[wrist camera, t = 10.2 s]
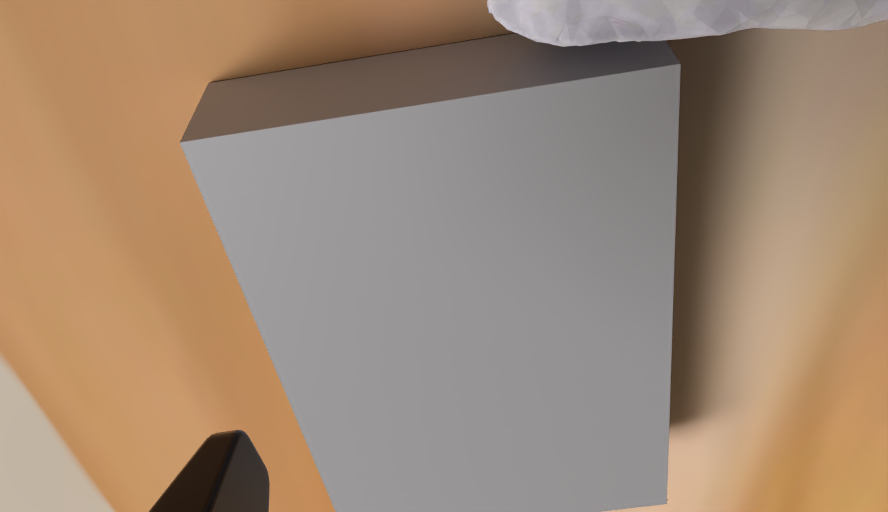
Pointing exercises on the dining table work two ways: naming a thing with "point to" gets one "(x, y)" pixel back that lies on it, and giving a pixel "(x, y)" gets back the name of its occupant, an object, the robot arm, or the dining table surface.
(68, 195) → the dining table surface
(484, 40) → the gray plinth
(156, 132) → the dining table surface
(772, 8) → the stone block
